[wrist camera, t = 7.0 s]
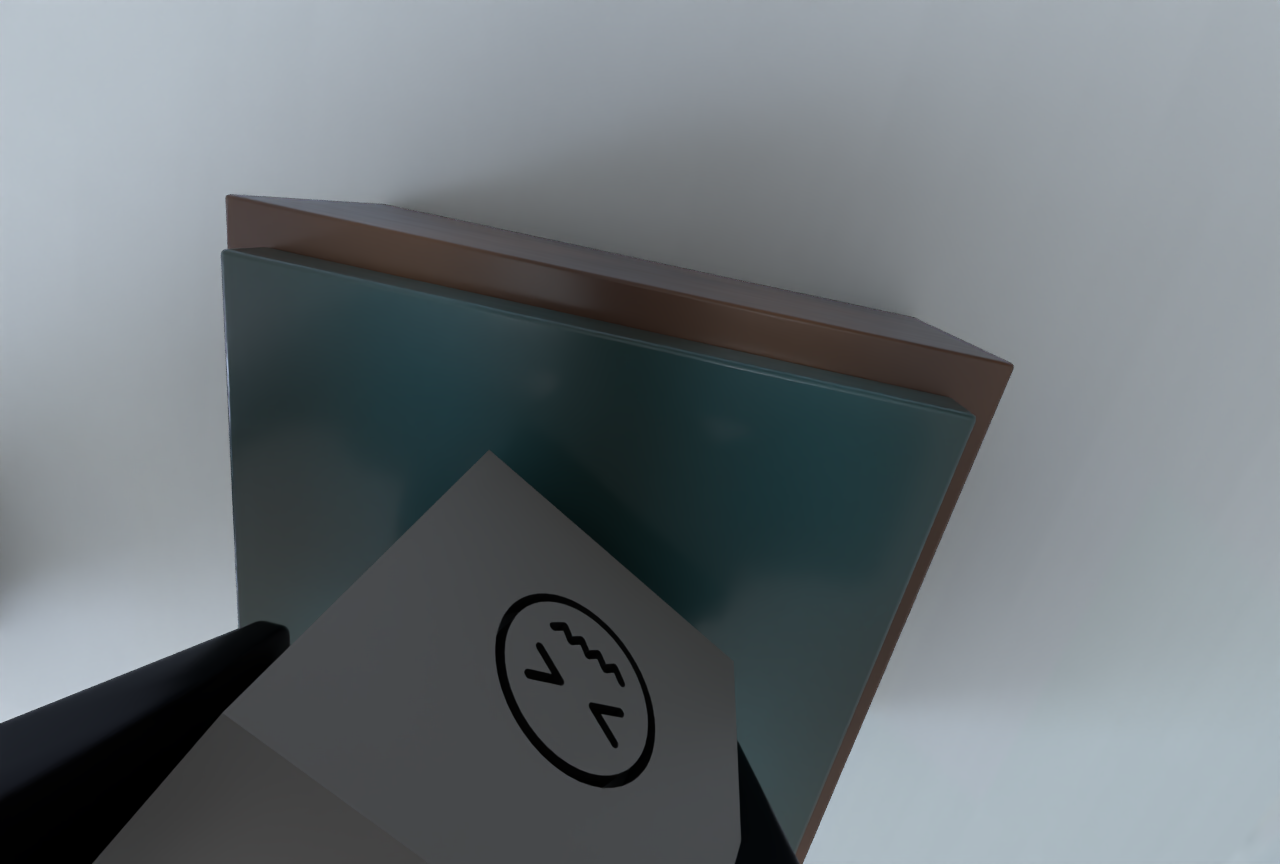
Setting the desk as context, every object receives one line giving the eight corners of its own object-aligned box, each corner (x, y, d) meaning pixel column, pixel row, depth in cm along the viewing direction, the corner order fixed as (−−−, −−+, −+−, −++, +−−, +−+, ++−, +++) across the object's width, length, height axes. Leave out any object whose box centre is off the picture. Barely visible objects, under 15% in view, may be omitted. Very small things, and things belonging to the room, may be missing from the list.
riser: (365, 607, 19) (213, 773, 13) (382, 203, 15) (170, 189, 9) (776, 710, 18) (802, 931, 12) (916, 317, 14) (1050, 380, 8)
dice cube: (317, 642, 10) (-20, 993, 6) (489, 449, 9) (223, 712, 4) (537, 811, 11) (402, 1251, 6) (733, 661, 9) (751, 1098, 5)
